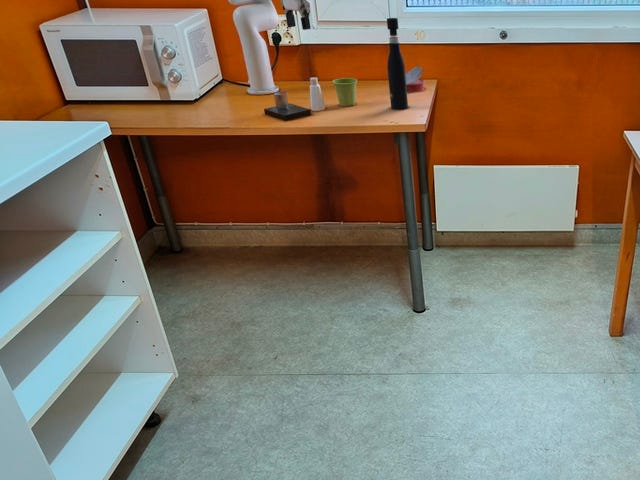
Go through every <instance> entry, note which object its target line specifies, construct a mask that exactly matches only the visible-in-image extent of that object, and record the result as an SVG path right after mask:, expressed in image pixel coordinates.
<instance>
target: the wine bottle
mask: <svg viewBox="0 0 640 480" xmlns="http://www.w3.org/2000/svg"><path fill="white" fill-rule="evenodd" d="M386 26H387V30H388V31H389V38H388V39H389V43H388V47H389V53H388V58H387V78H388V88H389V100H390V108H391V110H394V111H403V110H407V109H408V108H409V103H408V92H407V87H406V65H405V61H404V57H403V55H402V53H401V49H400V48H401V46H400V42H399V41H400V40H399V37H398V30H399V19H398V17H388V18H386Z"/></svg>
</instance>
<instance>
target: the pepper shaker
mask: <svg viewBox="0 0 640 480" xmlns="http://www.w3.org/2000/svg"><path fill="white" fill-rule="evenodd" d="M309 82H310V85H309V100H310V101H309V102H310V110H311V111H314V112H320V111H325V110H326V105H325V99H324V97H323V92H322V89H321V85H320V84H319V81H318V77H310V78H309Z"/></svg>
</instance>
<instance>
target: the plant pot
mask: <svg viewBox="0 0 640 480" xmlns="http://www.w3.org/2000/svg"><path fill="white" fill-rule="evenodd" d="M331 82H332V84H333V87H334V88H335V91H336V97H337V100H338V103H339V106H341V107H350V106H355V105H356V103H357V102H356V100H357V98H356V96H357V94H356V93H357V82H358V79H357V78H352V77H340V78H336V79H333V80H332V81H331Z"/></svg>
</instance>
